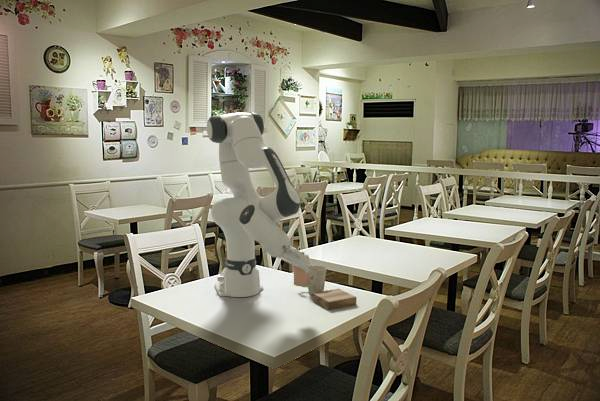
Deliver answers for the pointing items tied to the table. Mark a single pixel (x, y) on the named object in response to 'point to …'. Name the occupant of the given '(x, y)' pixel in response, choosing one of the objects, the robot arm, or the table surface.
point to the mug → (316, 279)
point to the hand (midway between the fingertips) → (302, 268)
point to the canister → (301, 275)
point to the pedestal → (334, 299)
